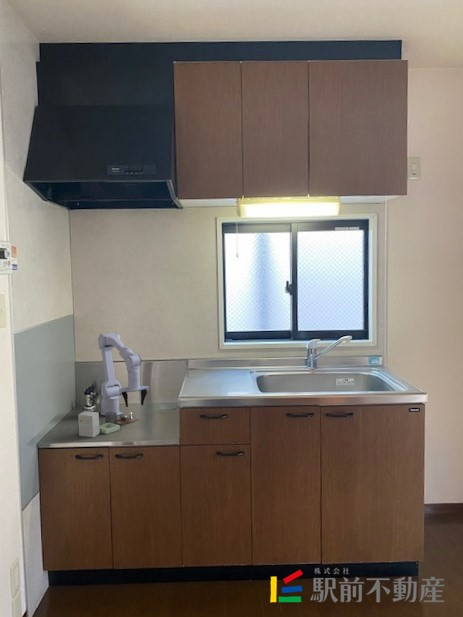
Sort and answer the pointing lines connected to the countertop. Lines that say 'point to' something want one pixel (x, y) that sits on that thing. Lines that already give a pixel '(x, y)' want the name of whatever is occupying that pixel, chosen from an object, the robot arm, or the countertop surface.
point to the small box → (88, 424)
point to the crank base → (125, 421)
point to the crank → (127, 416)
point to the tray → (109, 428)
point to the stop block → (111, 417)
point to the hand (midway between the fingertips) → (134, 405)
